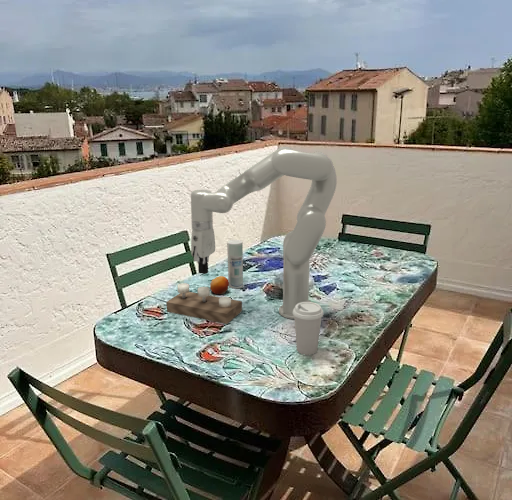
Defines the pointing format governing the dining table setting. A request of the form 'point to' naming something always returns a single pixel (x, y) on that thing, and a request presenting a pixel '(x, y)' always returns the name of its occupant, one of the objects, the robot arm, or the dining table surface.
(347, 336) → the dining table surface
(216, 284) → the fruit
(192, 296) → the mount
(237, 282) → the spray can
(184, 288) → the knob far
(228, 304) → the knob near
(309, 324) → the coffee cup
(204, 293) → the knob mid
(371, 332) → the dining table surface
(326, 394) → the dining table surface
